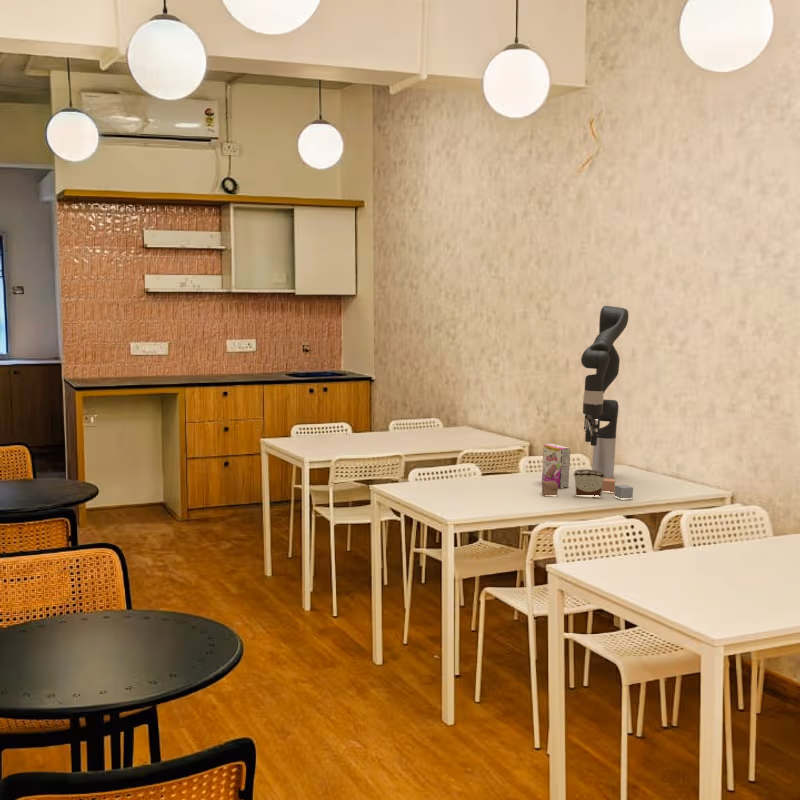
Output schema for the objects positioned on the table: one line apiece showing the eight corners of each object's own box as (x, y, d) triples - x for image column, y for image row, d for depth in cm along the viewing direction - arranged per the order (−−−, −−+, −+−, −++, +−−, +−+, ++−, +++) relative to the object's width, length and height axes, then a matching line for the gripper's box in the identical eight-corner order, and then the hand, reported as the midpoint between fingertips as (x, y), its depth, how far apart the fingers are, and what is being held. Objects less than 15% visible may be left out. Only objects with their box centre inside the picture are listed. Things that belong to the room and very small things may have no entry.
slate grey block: (614, 497, 391) (614, 485, 391) (625, 497, 393) (626, 484, 392) (620, 500, 387) (621, 488, 386) (632, 500, 388) (633, 487, 388)
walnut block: (541, 493, 394) (542, 481, 394) (554, 494, 395) (555, 481, 394) (544, 496, 389) (545, 484, 389) (557, 496, 390) (557, 484, 389)
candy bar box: (540, 483, 413) (543, 444, 411) (550, 482, 416) (552, 443, 414) (559, 488, 404) (562, 448, 402) (569, 487, 407) (571, 447, 405)
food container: (602, 495, 395) (604, 470, 394) (604, 498, 389) (605, 473, 388) (571, 493, 396) (572, 468, 395) (572, 496, 390) (573, 471, 389)
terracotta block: (600, 490, 404) (601, 478, 404) (613, 491, 404) (613, 478, 403) (601, 493, 399) (602, 480, 399) (614, 493, 399) (615, 481, 398)
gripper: (579, 399, 395) (576, 440, 397) (588, 404, 381) (585, 446, 383) (597, 400, 396) (595, 440, 398) (607, 404, 381) (605, 447, 383)
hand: (590, 443), depth 390 cm, fingers open, 8 cm apart
